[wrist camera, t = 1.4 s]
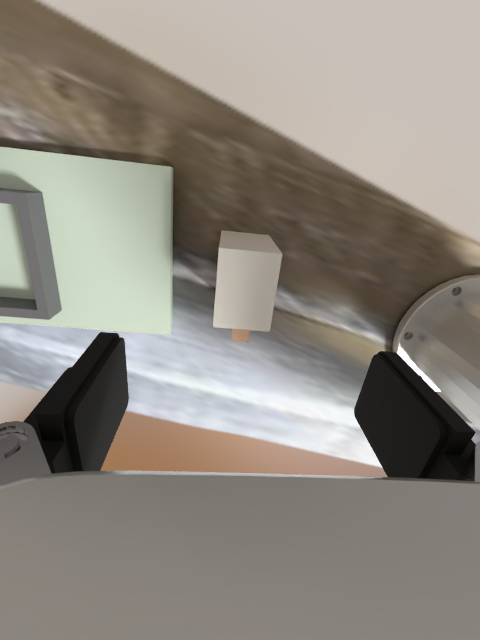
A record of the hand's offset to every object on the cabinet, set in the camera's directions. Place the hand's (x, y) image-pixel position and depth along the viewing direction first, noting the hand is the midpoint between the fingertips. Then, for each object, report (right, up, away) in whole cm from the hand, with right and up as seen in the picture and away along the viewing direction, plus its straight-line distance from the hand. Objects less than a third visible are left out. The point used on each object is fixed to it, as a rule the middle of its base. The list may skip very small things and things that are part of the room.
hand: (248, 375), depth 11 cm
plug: (0, +7, +15) cm, 16 cm away
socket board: (-16, +8, +13) cm, 23 cm away
